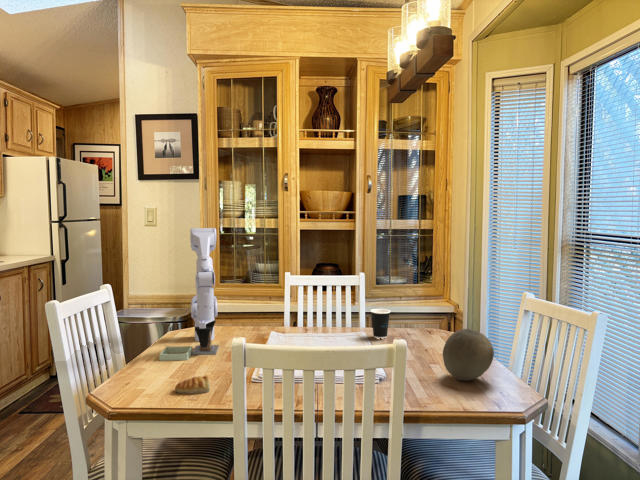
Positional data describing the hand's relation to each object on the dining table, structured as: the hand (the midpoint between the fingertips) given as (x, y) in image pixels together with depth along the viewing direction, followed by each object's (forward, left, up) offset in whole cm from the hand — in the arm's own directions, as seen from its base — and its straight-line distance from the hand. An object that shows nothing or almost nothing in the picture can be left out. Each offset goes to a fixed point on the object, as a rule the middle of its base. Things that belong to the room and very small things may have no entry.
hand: (205, 344), depth 163 cm
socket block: (0, 0, -4) cm, 4 cm away
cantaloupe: (+31, +82, -4) cm, 88 cm away
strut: (0, 0, -3) cm, 3 cm away
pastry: (+34, +2, -4) cm, 34 cm away
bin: (+5, -9, -4) cm, 11 cm away
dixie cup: (-17, +66, -4) cm, 68 cm away
